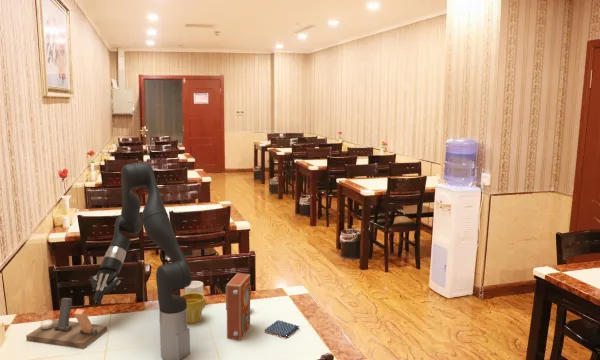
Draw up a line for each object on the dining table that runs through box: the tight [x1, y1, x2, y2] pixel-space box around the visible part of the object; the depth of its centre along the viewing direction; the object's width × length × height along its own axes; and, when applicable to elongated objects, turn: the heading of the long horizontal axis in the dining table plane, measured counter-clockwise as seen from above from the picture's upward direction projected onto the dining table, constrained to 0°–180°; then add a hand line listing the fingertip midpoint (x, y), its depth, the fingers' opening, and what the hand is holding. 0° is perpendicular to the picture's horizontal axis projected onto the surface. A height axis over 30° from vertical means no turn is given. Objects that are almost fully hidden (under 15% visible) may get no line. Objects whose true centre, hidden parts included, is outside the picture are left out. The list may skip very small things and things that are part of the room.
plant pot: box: [180, 293, 206, 325], centre depth 199 cm, size 10×10×10 cm
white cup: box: [184, 280, 204, 295], centre depth 212 cm, size 8×8×10 cm
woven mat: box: [263, 319, 300, 339], centre depth 192 cm, size 10×11×2 cm
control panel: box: [225, 272, 252, 341], centre depth 189 cm, size 21×7×15 cm
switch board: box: [25, 318, 108, 350], centre depth 185 cm, size 24×14×4 cm, turn 77°
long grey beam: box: [58, 297, 73, 330], centre depth 186 cm, size 3×2×12 cm, turn 77°
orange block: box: [73, 308, 94, 334], centre depth 180 cm, size 3×2×12 cm, turn 77°
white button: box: [40, 319, 53, 329], centre depth 187 cm, size 4×4×2 cm
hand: (96, 301), depth 187 cm, fingers closed
